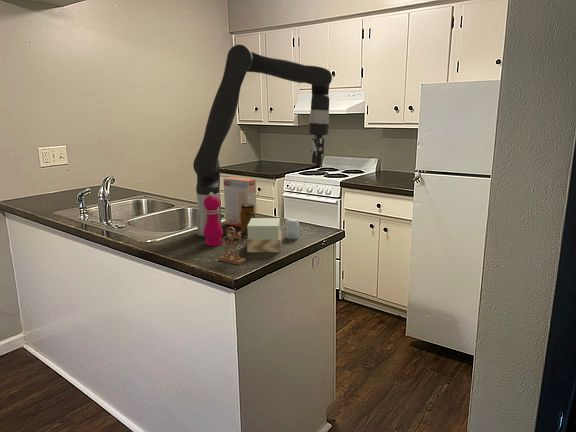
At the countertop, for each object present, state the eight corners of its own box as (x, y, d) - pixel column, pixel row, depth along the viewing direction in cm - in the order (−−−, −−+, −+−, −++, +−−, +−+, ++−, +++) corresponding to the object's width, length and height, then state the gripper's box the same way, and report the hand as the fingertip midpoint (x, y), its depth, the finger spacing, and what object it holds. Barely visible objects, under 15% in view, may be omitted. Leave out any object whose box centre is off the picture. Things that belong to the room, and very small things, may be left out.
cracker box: (257, 226, 190) (256, 178, 185) (248, 229, 186) (246, 180, 180) (234, 221, 198) (232, 175, 193) (224, 224, 194) (222, 177, 188)
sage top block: (247, 239, 156) (247, 226, 155) (251, 230, 167) (251, 218, 165) (278, 239, 156) (278, 226, 154) (280, 230, 166) (280, 218, 165)
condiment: (252, 230, 184) (251, 202, 182) (261, 235, 177) (260, 206, 174) (236, 232, 181) (235, 204, 178) (245, 237, 174) (244, 208, 171)
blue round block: (286, 239, 171) (285, 222, 170) (286, 235, 176) (286, 218, 175) (298, 239, 171) (298, 222, 170) (298, 235, 176) (298, 218, 174)
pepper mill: (214, 239, 172) (212, 189, 167) (227, 243, 167) (225, 191, 162) (200, 244, 166) (197, 192, 162) (213, 247, 162) (210, 195, 157)
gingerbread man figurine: (218, 260, 149) (216, 226, 146) (226, 256, 152) (224, 223, 149) (239, 265, 144) (237, 230, 141) (246, 261, 148) (245, 227, 145)
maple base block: (247, 253, 157) (246, 239, 156) (250, 242, 169) (250, 230, 167) (280, 253, 157) (280, 239, 155) (281, 242, 168) (281, 230, 167)
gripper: (306, 122, 175) (304, 162, 178) (312, 121, 161) (309, 165, 165) (325, 123, 176) (322, 163, 179) (332, 122, 162) (329, 166, 165)
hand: (316, 164), depth 172 cm, fingers open, 8 cm apart
